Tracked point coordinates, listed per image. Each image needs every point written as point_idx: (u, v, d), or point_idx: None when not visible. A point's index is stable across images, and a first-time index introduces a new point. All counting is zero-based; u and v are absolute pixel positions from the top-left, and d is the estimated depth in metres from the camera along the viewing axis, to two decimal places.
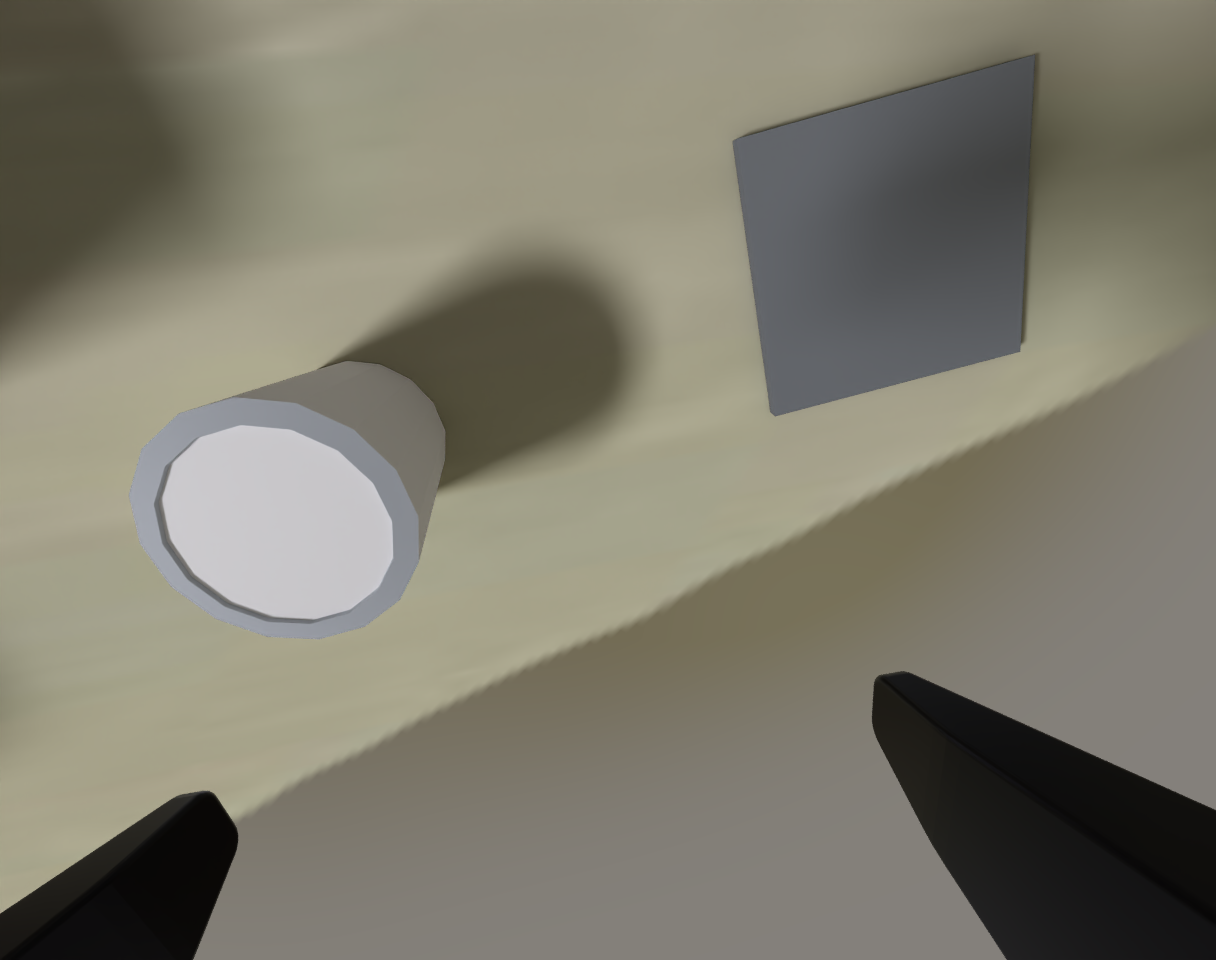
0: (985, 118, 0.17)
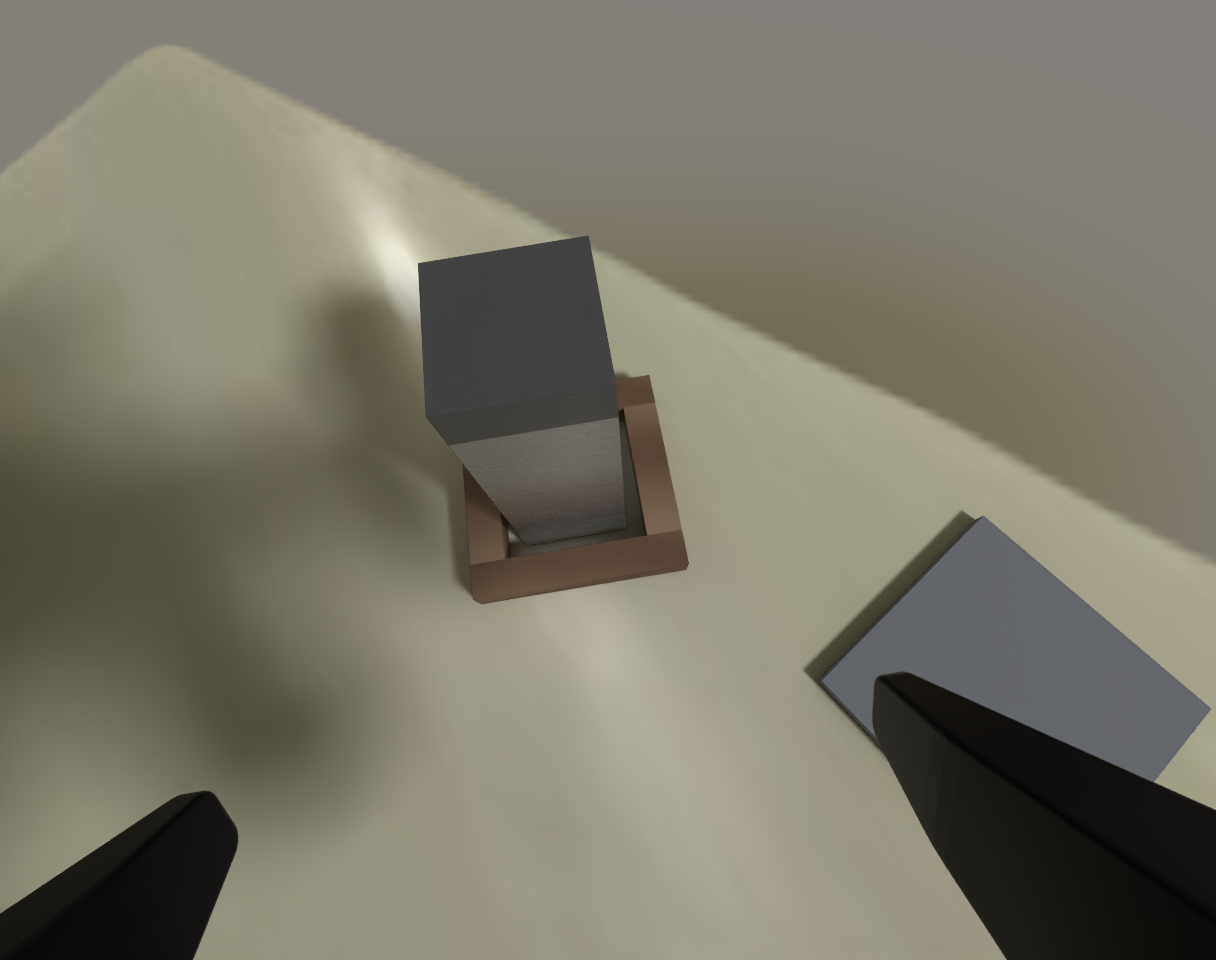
0: None
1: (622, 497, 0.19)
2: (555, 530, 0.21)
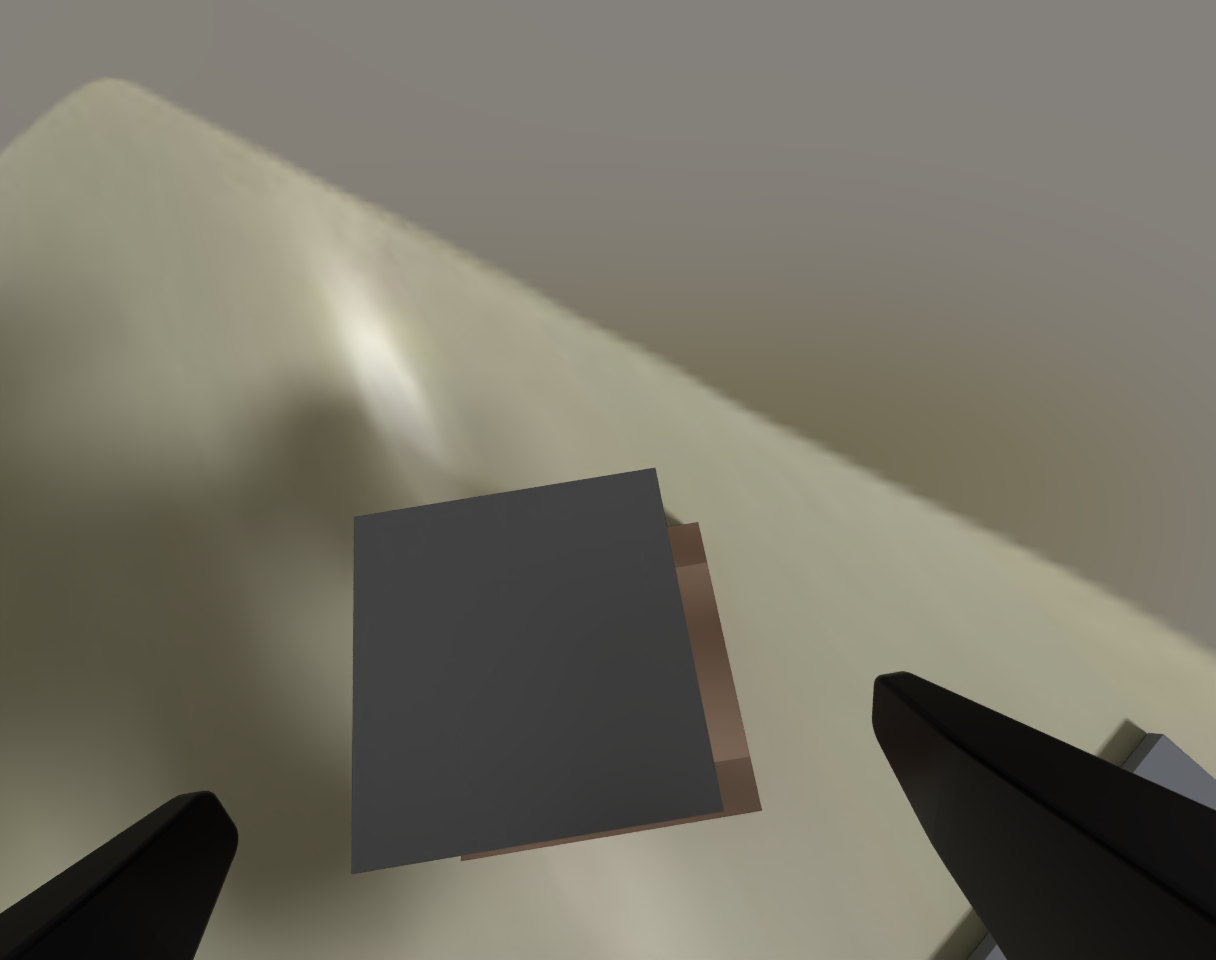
0: None
1: None
2: None
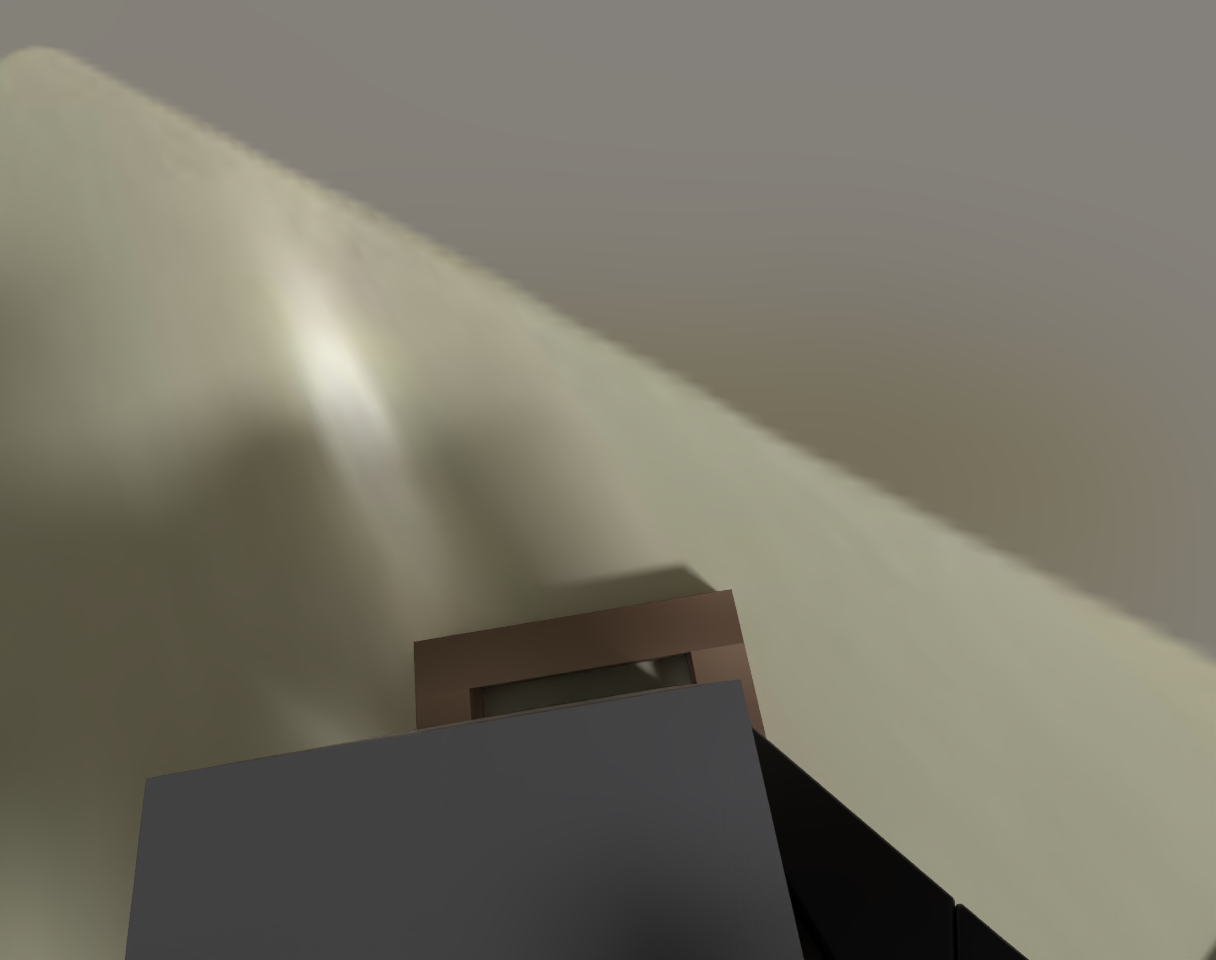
0: None
1: None
2: None
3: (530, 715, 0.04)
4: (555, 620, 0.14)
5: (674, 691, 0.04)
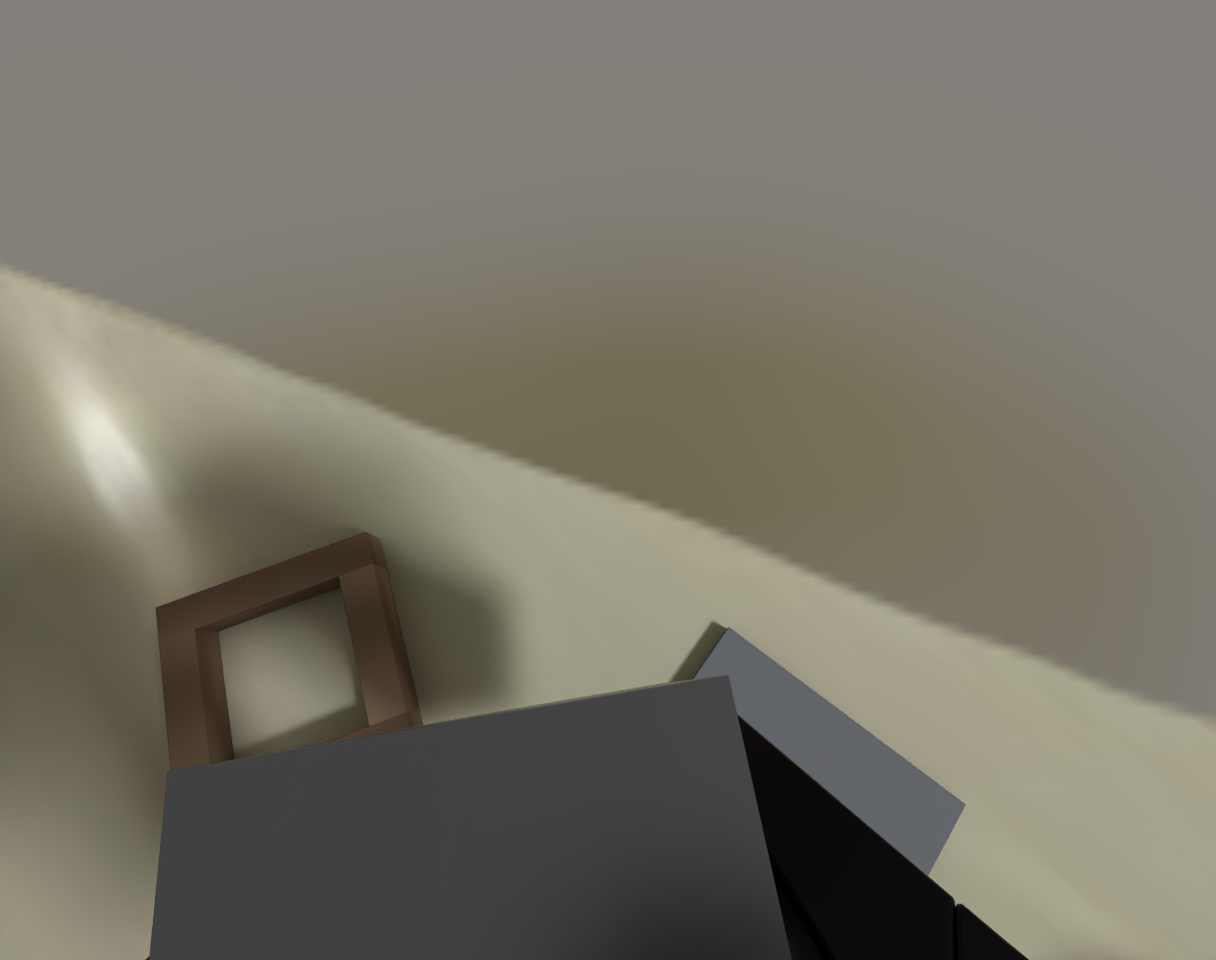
0: None
1: None
2: None
3: (529, 709, 0.04)
4: (250, 574, 0.21)
5: (665, 686, 0.04)
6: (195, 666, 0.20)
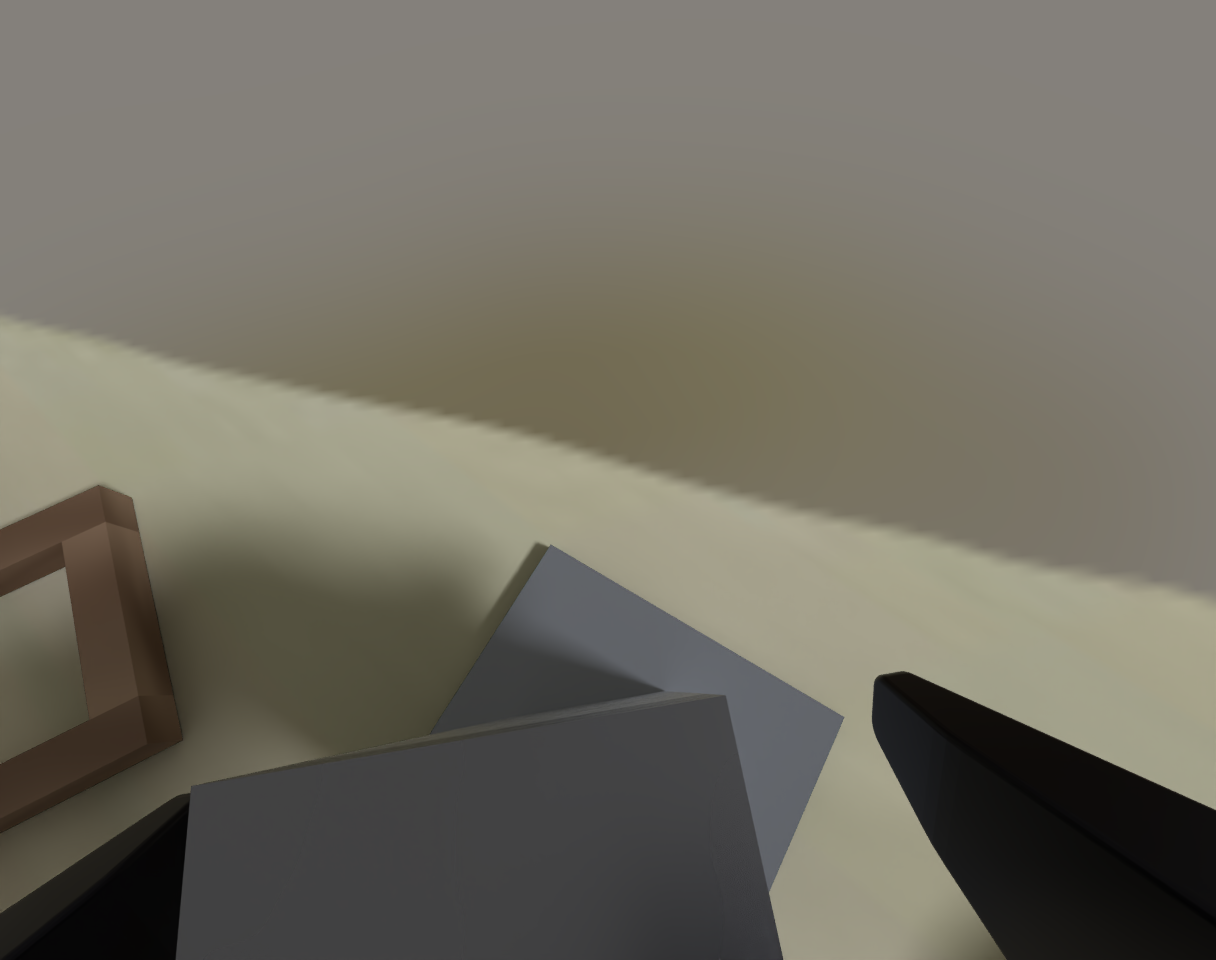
0: None
1: None
2: None
3: (536, 728, 0.04)
4: None
5: (665, 705, 0.04)
6: None
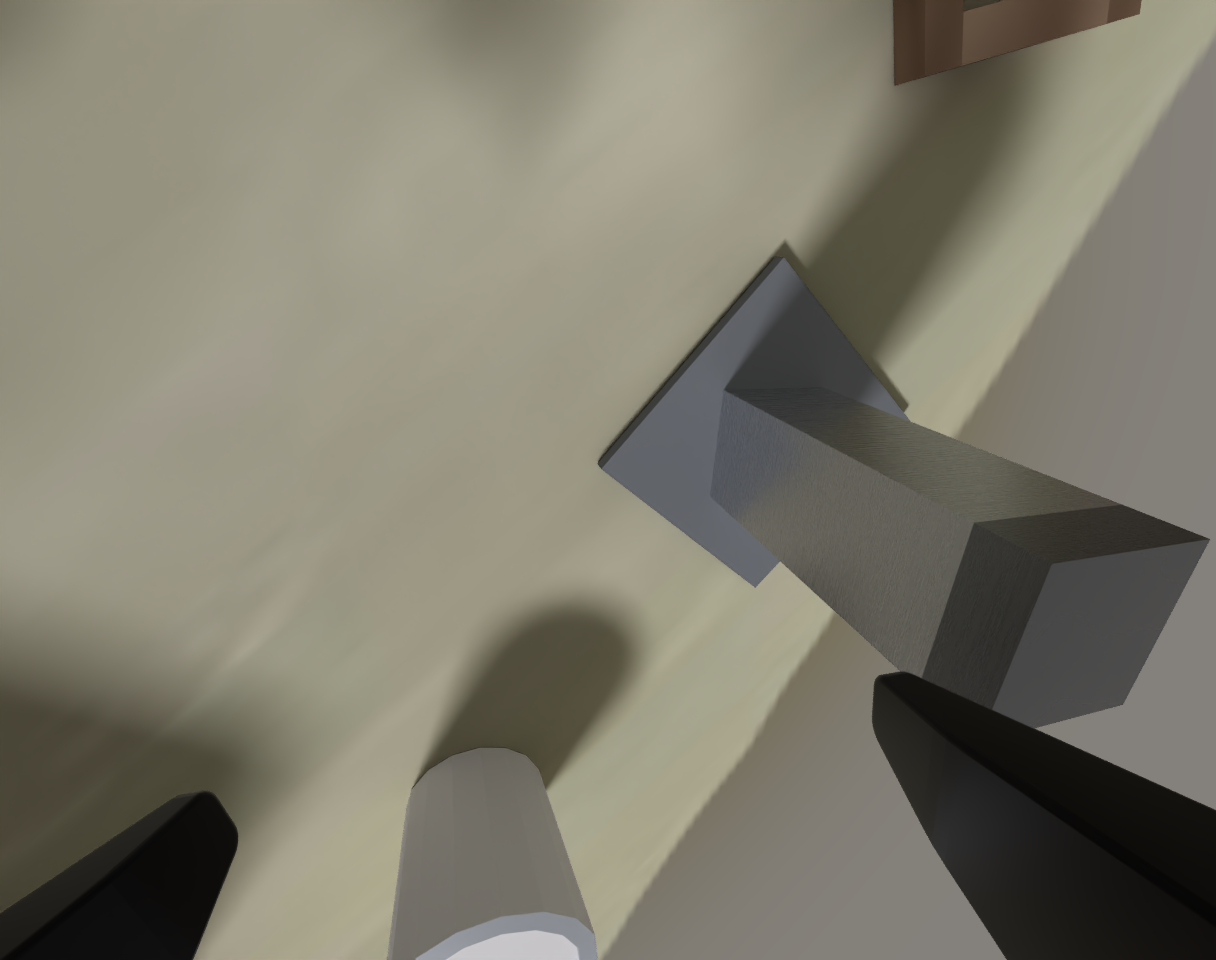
0: (776, 319, 0.19)
1: (769, 548, 0.17)
2: (738, 440, 0.19)
3: (1149, 649, 0.12)
4: None
5: (1129, 687, 0.12)
6: None
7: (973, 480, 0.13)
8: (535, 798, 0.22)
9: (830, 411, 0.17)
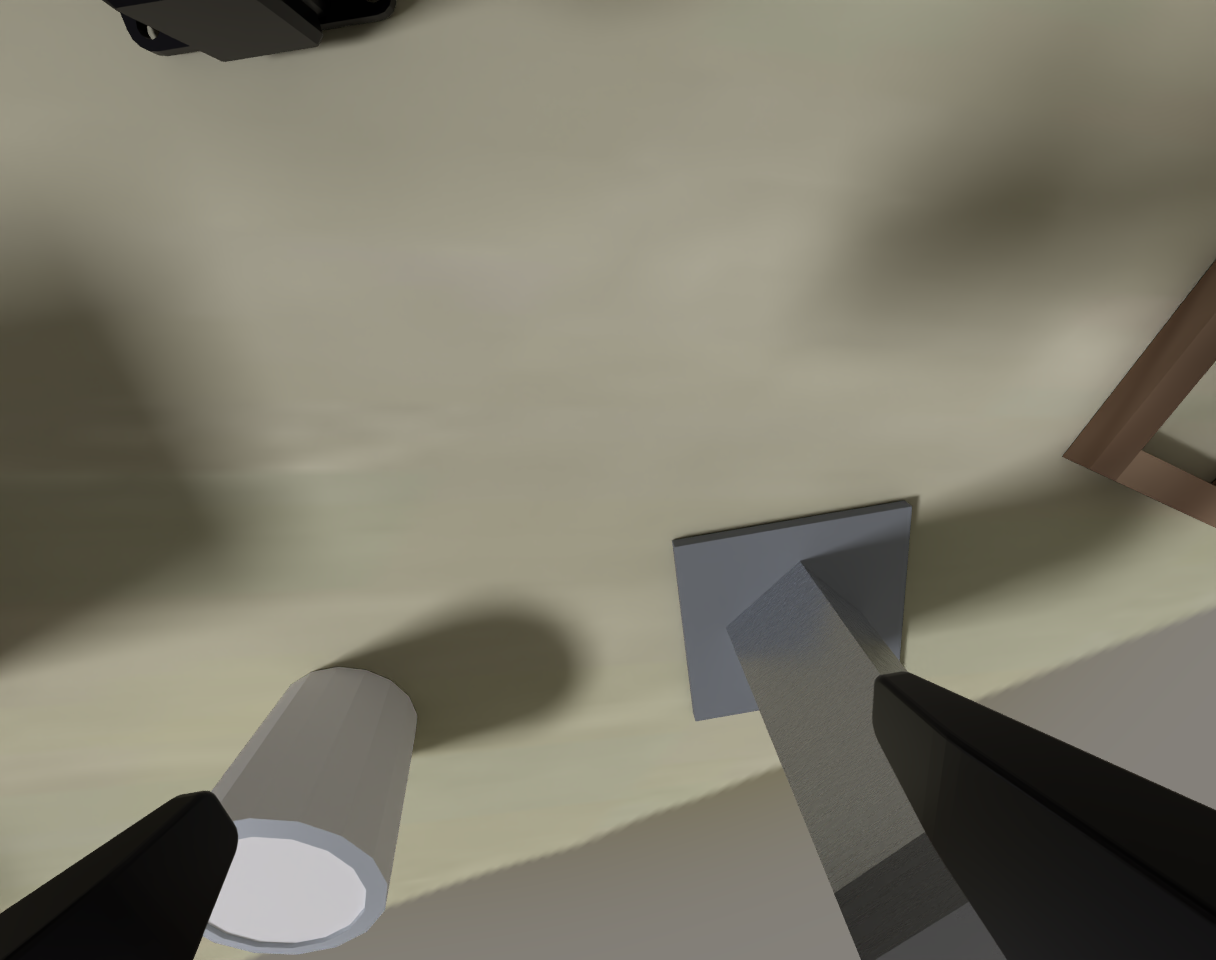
0: (872, 542, 0.22)
1: (758, 703, 0.19)
2: (787, 606, 0.21)
3: None
4: None
5: None
6: None
7: None
8: (407, 757, 0.22)
9: (871, 638, 0.20)
